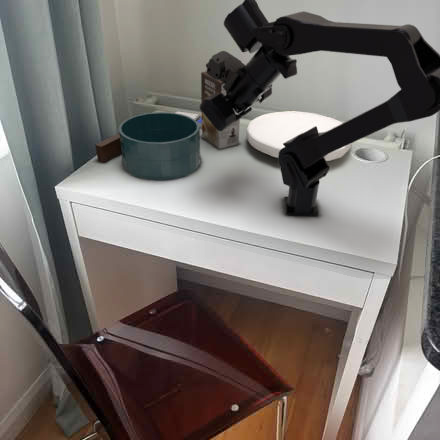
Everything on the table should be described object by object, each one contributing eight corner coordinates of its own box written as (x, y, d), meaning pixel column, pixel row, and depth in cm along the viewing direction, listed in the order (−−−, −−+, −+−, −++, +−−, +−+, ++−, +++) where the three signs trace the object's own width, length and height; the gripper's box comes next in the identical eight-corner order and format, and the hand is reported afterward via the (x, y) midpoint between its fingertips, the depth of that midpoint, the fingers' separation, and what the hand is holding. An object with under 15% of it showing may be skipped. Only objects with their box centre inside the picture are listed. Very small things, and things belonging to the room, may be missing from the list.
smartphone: (200, 114, 129) (179, 133, 118) (200, 116, 130) (180, 135, 119) (176, 110, 131) (154, 129, 120) (176, 113, 131) (154, 131, 121)
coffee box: (200, 136, 119) (199, 71, 108) (220, 132, 122) (222, 67, 111) (219, 149, 113) (220, 82, 103) (240, 144, 116) (243, 77, 105)
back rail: (147, 139, 117) (146, 124, 114) (104, 162, 107) (101, 146, 104) (141, 138, 118) (139, 122, 115) (97, 160, 108) (95, 144, 105)
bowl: (196, 181, 101) (196, 144, 95) (116, 178, 101) (110, 142, 96) (202, 147, 114) (202, 113, 109) (131, 145, 115) (127, 111, 109)
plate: (245, 106, 123) (343, 109, 123) (244, 130, 127) (339, 133, 127) (249, 137, 100) (369, 140, 100) (247, 165, 104) (363, 169, 104)
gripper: (256, 24, 88) (215, 79, 100) (201, 52, 77) (163, 109, 89) (293, 71, 89) (248, 119, 102) (244, 104, 78) (200, 154, 91)
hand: (216, 124), depth 96 cm, fingers closed
